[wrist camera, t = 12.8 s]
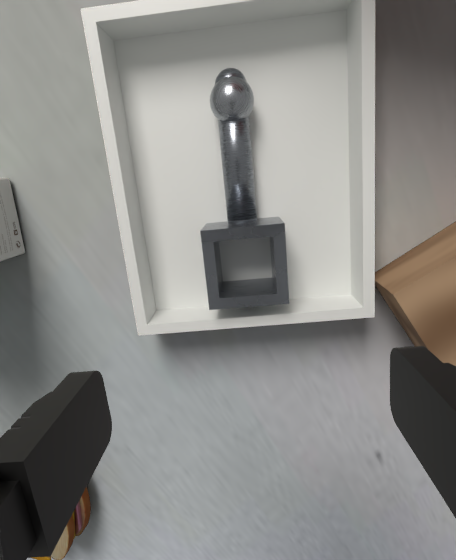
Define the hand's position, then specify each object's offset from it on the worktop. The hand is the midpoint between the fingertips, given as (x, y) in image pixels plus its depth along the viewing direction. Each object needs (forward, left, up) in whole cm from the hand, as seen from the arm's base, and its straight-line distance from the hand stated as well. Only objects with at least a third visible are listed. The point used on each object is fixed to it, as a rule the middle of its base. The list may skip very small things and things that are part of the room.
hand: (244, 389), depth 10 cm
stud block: (-12, -15, -21) cm, 28 cm away
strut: (+4, -3, -20) cm, 20 cm away
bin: (+5, -3, -21) cm, 21 cm away
